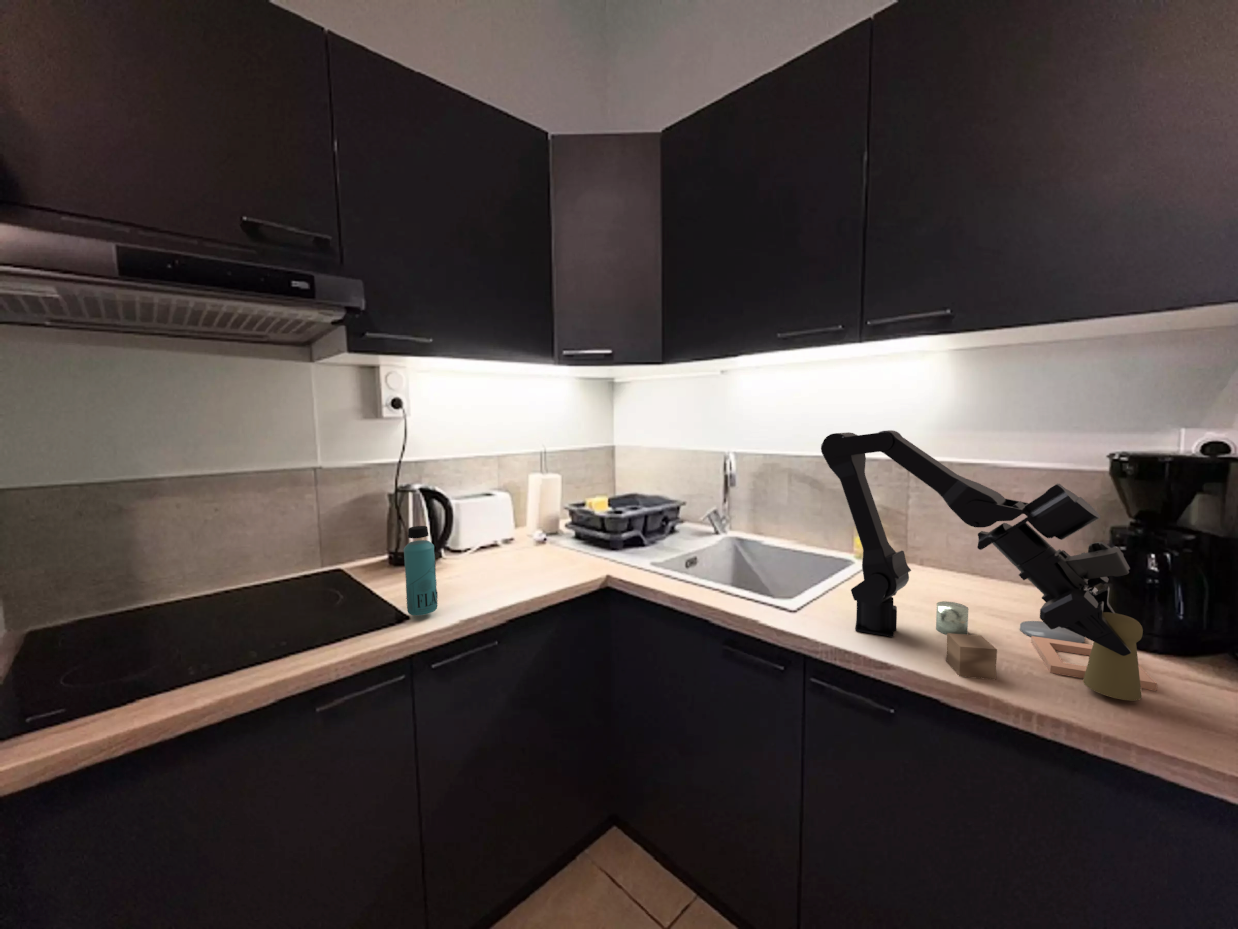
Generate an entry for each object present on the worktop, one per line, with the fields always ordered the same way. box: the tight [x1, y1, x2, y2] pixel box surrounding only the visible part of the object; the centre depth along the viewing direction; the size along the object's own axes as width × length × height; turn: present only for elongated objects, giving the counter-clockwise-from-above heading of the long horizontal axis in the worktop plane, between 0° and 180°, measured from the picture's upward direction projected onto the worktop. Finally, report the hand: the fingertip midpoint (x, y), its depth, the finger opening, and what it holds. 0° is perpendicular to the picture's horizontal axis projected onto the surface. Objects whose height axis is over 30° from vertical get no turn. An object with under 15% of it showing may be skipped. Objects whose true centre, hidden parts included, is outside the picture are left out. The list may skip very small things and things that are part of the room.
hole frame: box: [1030, 636, 1158, 692], centre depth 80 cm, size 12×12×1 cm
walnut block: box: [945, 633, 998, 680], centre depth 79 cm, size 5×5×5 cm
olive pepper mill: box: [1082, 612, 1144, 702], centre depth 70 cm, size 6×6×11 cm
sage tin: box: [935, 600, 969, 636], centre depth 93 cm, size 5×5×5 cm
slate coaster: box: [1019, 620, 1085, 644], centre depth 91 cm, size 9×9×1 cm
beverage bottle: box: [403, 525, 439, 616], centre depth 106 cm, size 6×7×20 cm
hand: (1128, 648), depth 69 cm, fingers closed on olive pepper mill, 5 cm apart
